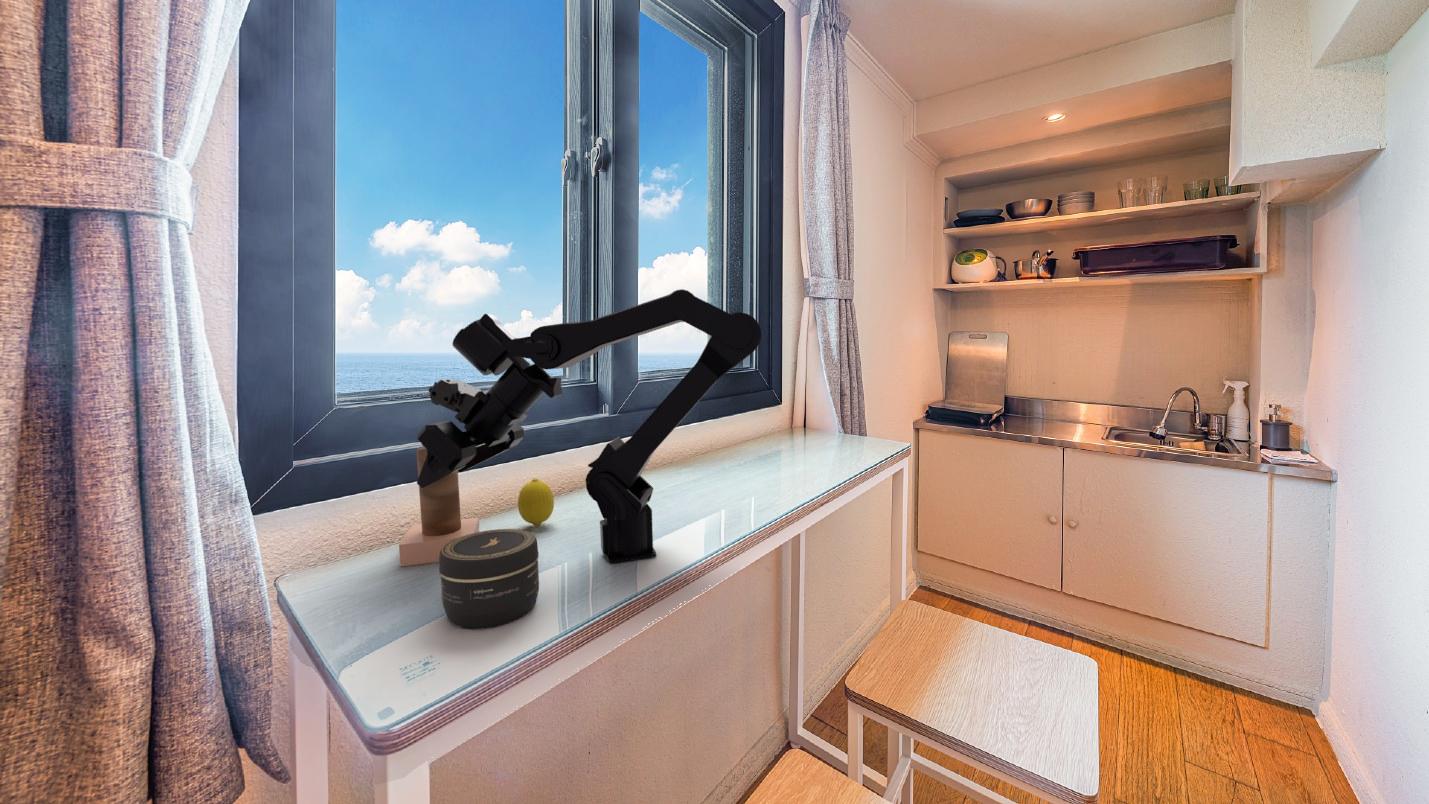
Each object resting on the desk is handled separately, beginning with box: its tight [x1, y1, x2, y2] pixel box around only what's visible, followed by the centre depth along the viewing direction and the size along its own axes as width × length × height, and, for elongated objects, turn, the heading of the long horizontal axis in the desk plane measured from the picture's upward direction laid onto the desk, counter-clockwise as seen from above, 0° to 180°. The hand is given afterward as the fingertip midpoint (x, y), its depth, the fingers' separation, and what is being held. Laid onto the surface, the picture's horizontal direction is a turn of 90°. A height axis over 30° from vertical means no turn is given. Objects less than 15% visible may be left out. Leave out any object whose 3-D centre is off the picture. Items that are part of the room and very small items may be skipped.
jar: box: [438, 528, 540, 630], centre depth 58 cm, size 10×10×8 cm
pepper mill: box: [416, 446, 462, 536], centre depth 75 cm, size 5×5×15 cm
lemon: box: [517, 478, 555, 528], centre depth 86 cm, size 6×6×8 cm
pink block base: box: [398, 517, 480, 568], centre depth 76 cm, size 9×9×3 cm
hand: (440, 477), depth 75 cm, fingers open, 9 cm apart
